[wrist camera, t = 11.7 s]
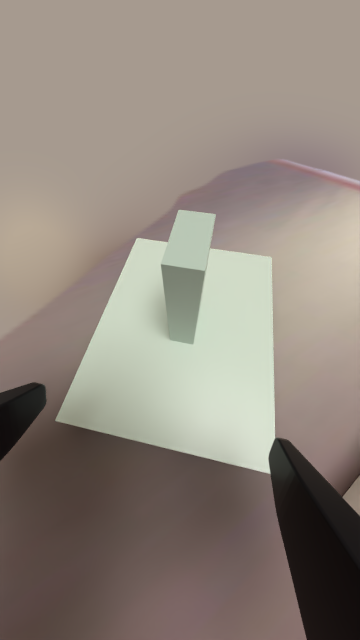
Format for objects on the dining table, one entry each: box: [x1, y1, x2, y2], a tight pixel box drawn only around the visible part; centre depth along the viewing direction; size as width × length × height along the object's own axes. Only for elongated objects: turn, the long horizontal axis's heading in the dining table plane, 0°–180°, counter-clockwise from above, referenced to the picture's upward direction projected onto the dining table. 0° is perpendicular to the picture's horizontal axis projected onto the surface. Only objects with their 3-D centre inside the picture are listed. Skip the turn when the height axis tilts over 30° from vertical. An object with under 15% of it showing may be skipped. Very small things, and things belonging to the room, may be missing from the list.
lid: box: [55, 210, 275, 474], centre depth 14 cm, size 15×19×11 cm
